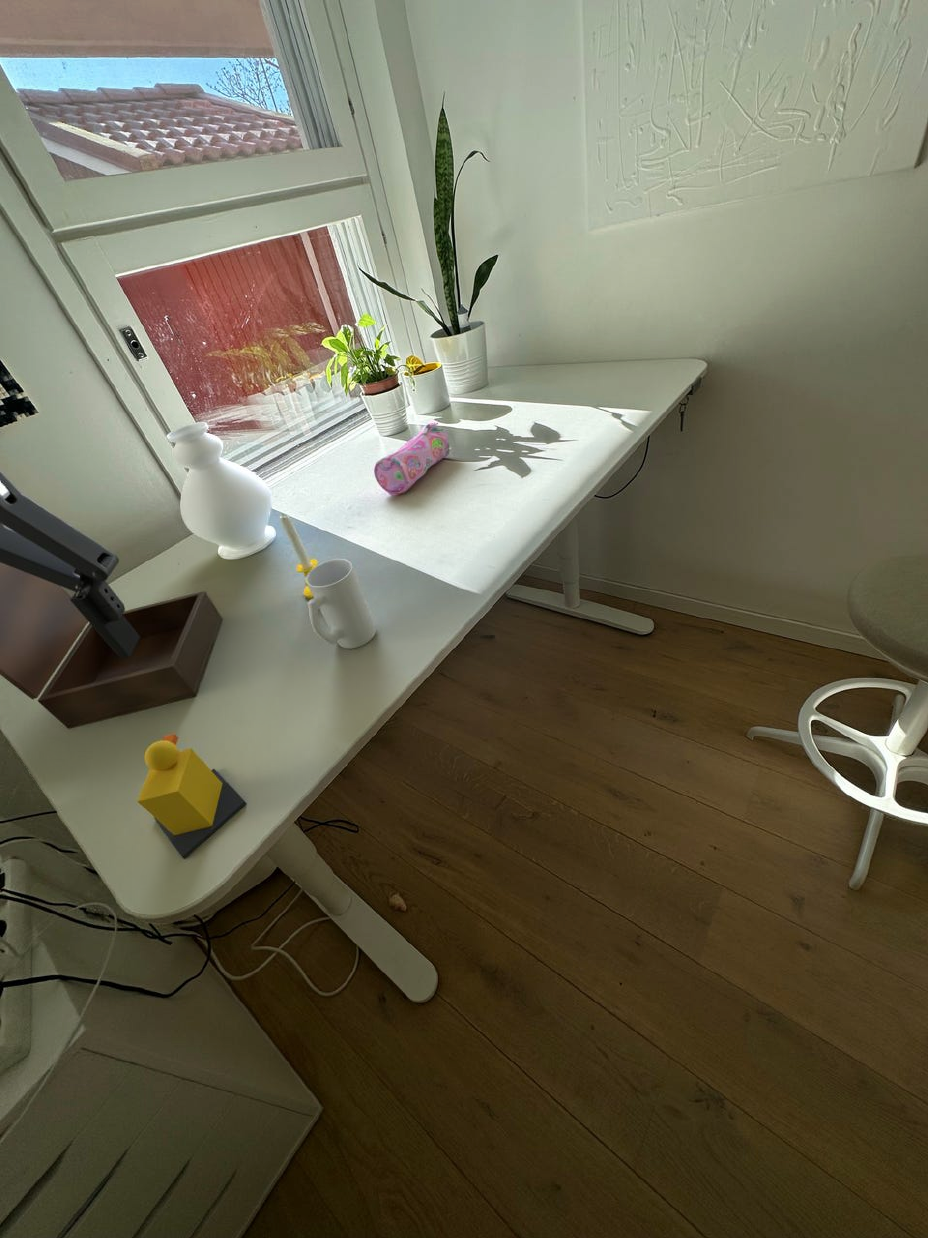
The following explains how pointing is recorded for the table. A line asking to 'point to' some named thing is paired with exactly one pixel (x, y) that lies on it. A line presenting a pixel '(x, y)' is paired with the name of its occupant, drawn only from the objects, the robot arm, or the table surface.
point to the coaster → (224, 811)
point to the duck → (179, 787)
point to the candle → (299, 551)
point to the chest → (136, 663)
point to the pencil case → (412, 460)
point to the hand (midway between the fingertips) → (56, 667)
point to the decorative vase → (221, 495)
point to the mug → (339, 604)
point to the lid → (34, 629)
